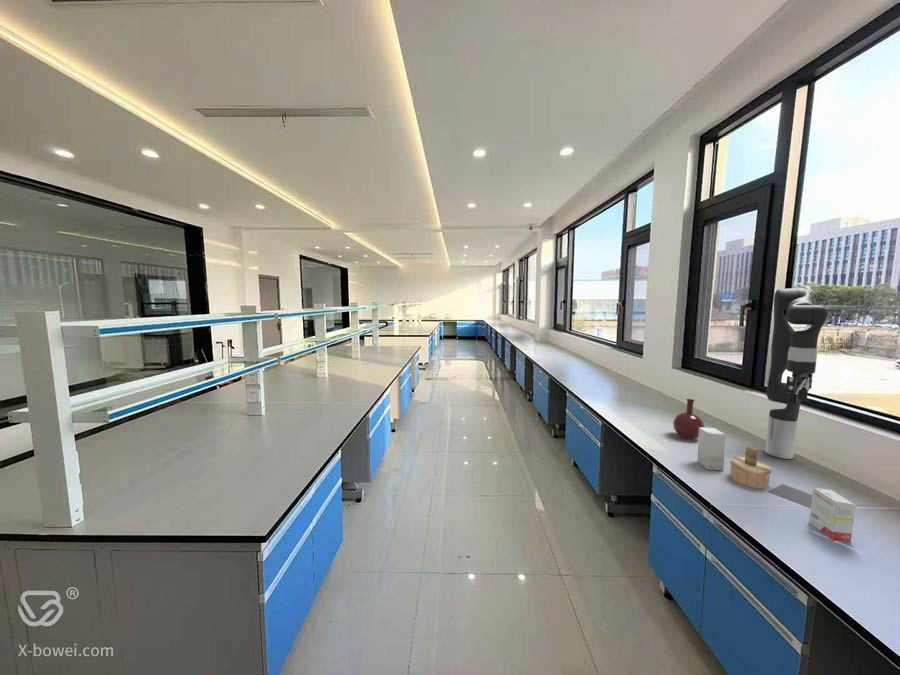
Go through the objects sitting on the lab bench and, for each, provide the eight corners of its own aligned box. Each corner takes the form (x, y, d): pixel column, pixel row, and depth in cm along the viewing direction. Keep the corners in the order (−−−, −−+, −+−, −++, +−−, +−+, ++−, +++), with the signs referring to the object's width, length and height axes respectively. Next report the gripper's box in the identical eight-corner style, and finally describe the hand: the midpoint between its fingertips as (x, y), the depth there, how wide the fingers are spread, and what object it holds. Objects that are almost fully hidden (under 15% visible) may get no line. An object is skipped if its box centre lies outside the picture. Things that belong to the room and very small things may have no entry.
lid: (739, 457, 141) (741, 440, 141) (777, 470, 131) (779, 451, 130) (723, 463, 136) (725, 445, 135) (762, 477, 125) (763, 458, 125)
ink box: (852, 543, 100) (857, 504, 98) (831, 540, 101) (836, 502, 99) (826, 524, 108) (831, 488, 107) (807, 522, 109) (812, 486, 108)
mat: (782, 484, 132) (782, 484, 131) (827, 501, 121) (827, 500, 121) (767, 492, 126) (767, 491, 126) (812, 510, 115) (812, 509, 115)
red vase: (702, 436, 179) (705, 398, 177) (704, 445, 168) (707, 405, 166) (672, 431, 186) (674, 395, 184) (672, 439, 175) (675, 400, 173)
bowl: (739, 472, 141) (740, 458, 141) (773, 484, 132) (775, 469, 131) (724, 478, 136) (726, 463, 136) (759, 491, 127) (761, 476, 126)
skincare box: (723, 471, 142) (727, 434, 140) (705, 469, 143) (708, 433, 142) (712, 462, 150) (715, 427, 148) (695, 460, 151) (698, 426, 150)
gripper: (796, 356, 134) (792, 397, 136) (779, 359, 128) (775, 402, 130) (824, 359, 128) (819, 402, 129) (806, 362, 121) (802, 407, 123)
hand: (797, 401), depth 130 cm, fingers open, 8 cm apart
